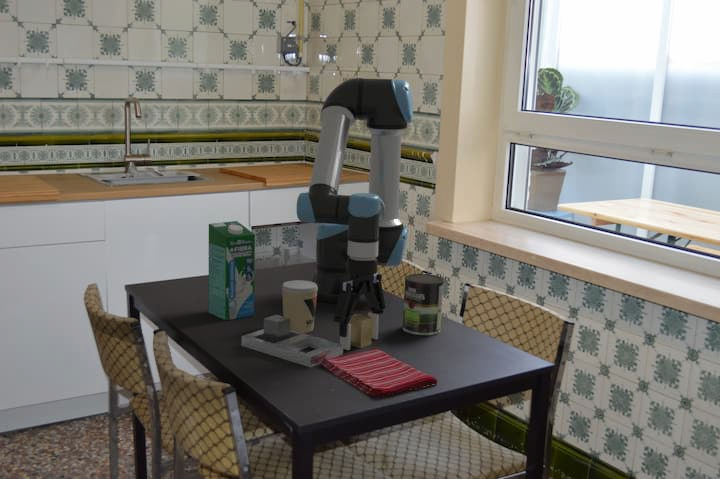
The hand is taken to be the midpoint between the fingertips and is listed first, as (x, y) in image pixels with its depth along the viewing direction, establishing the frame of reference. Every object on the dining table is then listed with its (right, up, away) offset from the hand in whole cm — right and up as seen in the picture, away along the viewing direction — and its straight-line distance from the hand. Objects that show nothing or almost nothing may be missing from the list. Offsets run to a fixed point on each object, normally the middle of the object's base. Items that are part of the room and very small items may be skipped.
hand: (359, 343), depth 210 cm
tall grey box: (-20, 0, -4) cm, 21 cm away
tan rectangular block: (0, 0, 0) cm, 0 cm away
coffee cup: (-16, +2, +10) cm, 19 cm away
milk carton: (-35, +5, +21) cm, 41 cm away
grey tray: (-16, -1, -6) cm, 18 cm away
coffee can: (+17, +2, +14) cm, 22 cm away
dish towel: (+4, -5, -20) cm, 21 cm away
